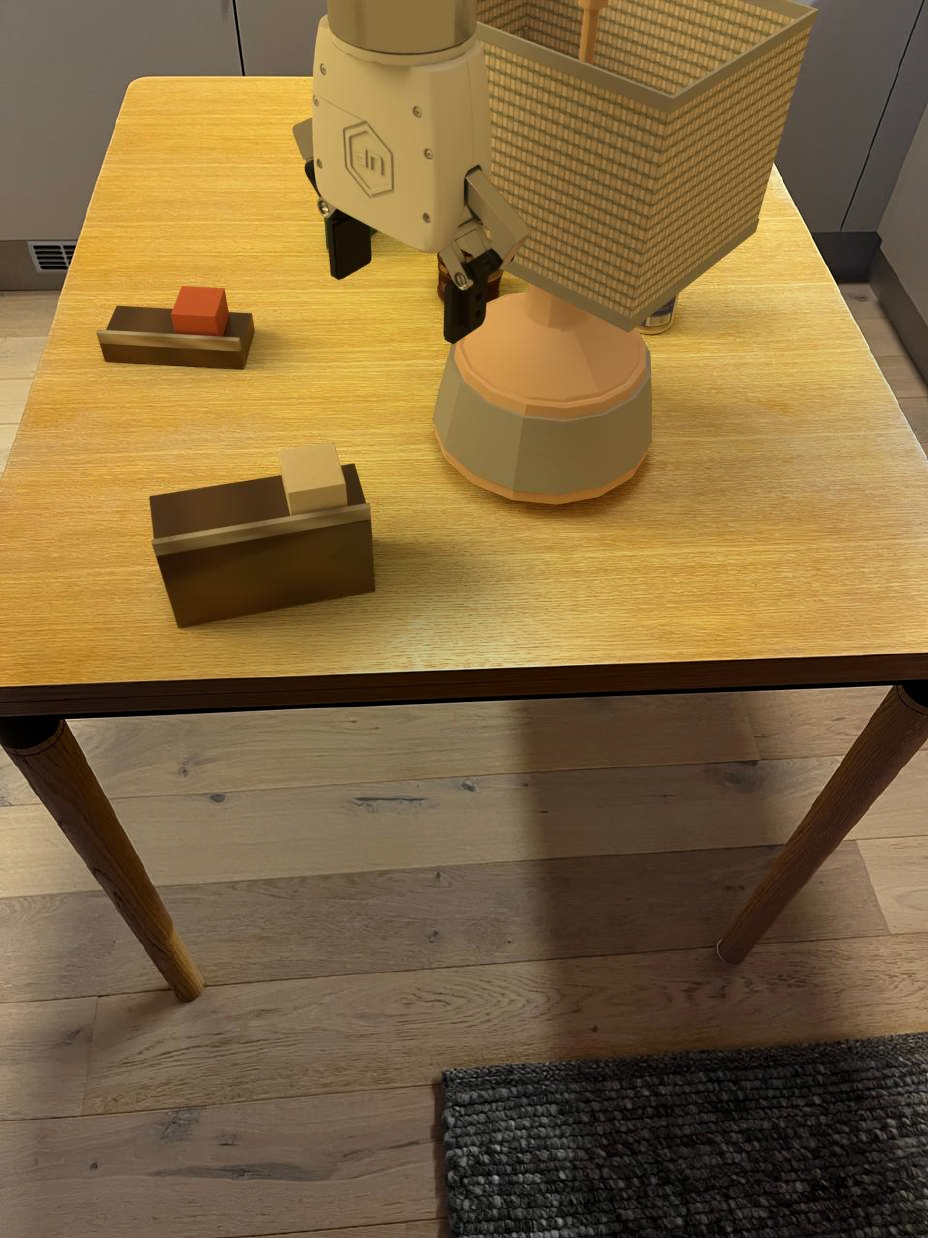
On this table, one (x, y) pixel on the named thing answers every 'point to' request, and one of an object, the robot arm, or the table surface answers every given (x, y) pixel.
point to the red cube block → (200, 311)
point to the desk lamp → (607, 218)
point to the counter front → (258, 549)
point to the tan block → (312, 478)
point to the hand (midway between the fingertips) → (406, 300)
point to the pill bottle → (659, 318)
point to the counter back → (173, 340)
